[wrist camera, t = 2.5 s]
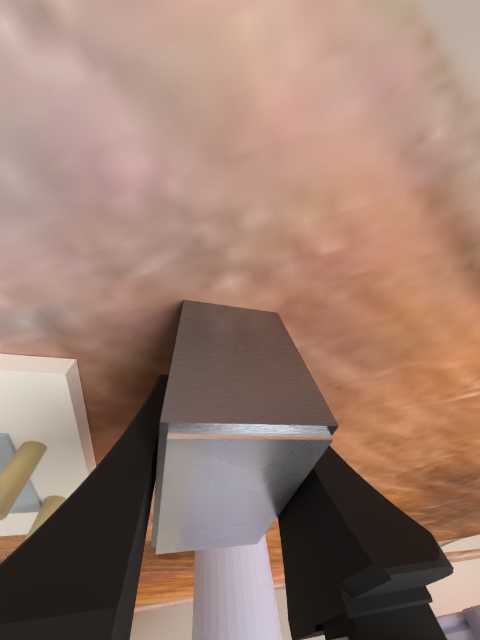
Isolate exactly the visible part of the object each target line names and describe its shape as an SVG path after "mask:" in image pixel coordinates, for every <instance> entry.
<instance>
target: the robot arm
mask: <svg viewBox="0 0 480 640" xmlns="http://www.w3.org/2000/svg"><path fill="white" fill-rule="evenodd" d="M168 378H169V375H160V376H158V379H157V381H156V383H155V385H154V387H153V389H152V391H151V393H150V394H149V396H148V398H147V400H146V401H145V403H144V404H143V406H142V407H141V409H140V410H139V412H138V414H137V415H136V417H135V418H134V419H133V421H132V422H131V424H130V425H129V426H128V428H127V429H126V430H125V432H124V433H123V435H122V436H121V437H120V439H119V440H118V441H117V442H116V444H115V445H114V446H113V447H112V449H111V450H110V451H109V452H108V454H107V455H106V456H105V457H104V458H103V460H102V461H101V462H100V463H99V464H98V465H97V467H96V468H95V469H94V470H93V471H92V472H91V473H90V474H89V476H88V477H87V478H86V479H85V480H84V481H83V482H82V483H81V484H80V486H79V487H78V488H77V489H76V490H75V491H74V492H73V493H72V494H71V495H70V496H69V497H68V498H67V499H66V500H65V501H64V502H63V503H62V504H61V505H60V506H59V507H58V509H57V510H56V511H55V512H54V513H53V514H52V515H51V516H50V517H49V518H48V519H47V520H46V521H45V522H44V523H43V524H42V525H41V526H40V527H39V528H38V529H37V530H36V531H35V532H34V533H33V534H32V535H31V536H30V537H29V538H27V539H26V540H25V541H24V542H23V543H22V544H21V545H20V546H19V547H18V548H17V549H16V550H15V551H14V552H13V553H12V554H11V555H9V556H8V557H7V558H6V559H5V560H4V561H3V562H2V563H1V564H0V640H129V639H130V632H131V626H132V620H133V613H134V607H135V601H136V595H137V588H138V582H139V576H140V569H141V563H142V557H143V551H144V544H145V538H146V532H147V526H148V520H149V514H150V508H151V502H152V496H153V490H154V485H155V481H156V471H157V456H158V442H159V427H160V419H161V414H162V409H163V404H164V398H165V393H166V388H167V383H168ZM278 522H279V529H280V537H281V546H282V555H283V564H284V574H285V585H286V595H287V608H288V621H289V626H290V631H291V637H292V640H302V639H307V638H311V637H316V636H321V635H325V639H326V640H480V605H478V606H474V607H470V608H467V609H464V610H463V611H462V612H457V613H453V614H448V615H443V616H439V617H435V615H434V613H433V611H432V609H431V607H430V605H429V604H428V603H430V602H432V598H431V595H430V593H429V592H428V590H427V588H426V585H428V584H431V583H433V582H436V581H438V580H440V579H443V578H445V577H447V576H449V575H451V574H452V573H453V567H452V565H451V564H450V562H449V560H448V559H447V557H446V556H445V554H444V553H443V551H442V549H441V548H440V546H439V545H438V543H437V542H436V540H435V538H434V537H433V535H432V534H431V533H430V532H429V531H428V530H426V529H425V528H424V527H422V526H421V525H420V524H418V523H417V522H416V521H414V520H413V519H412V518H410V517H409V516H408V515H406V514H405V513H404V512H402V511H401V510H400V509H399V508H397V507H396V506H395V505H394V504H392V503H391V502H390V501H389V500H387V499H386V498H385V497H384V496H383V495H381V494H380V493H379V492H378V491H377V490H375V489H374V488H373V487H372V486H371V485H370V484H369V483H367V482H366V481H365V480H364V479H363V478H362V477H361V476H360V475H359V474H358V473H356V472H355V471H354V470H353V469H352V468H351V467H350V466H349V465H348V464H347V463H346V462H345V461H344V460H343V459H342V458H341V457H340V456H339V455H338V454H337V453H336V452H335V451H334V450H333V449H332V448H331V447H330V446H328V448H327V449H326V450H325V452H324V453H323V455H322V456H321V457H320V459H319V460H318V461H317V463H316V464H315V466H314V467H313V468H312V470H311V471H310V472H309V474H308V475H307V477H306V478H305V479H304V481H303V482H302V483H301V485H300V486H299V488H298V489H297V490H296V492H295V493H294V494H293V496H292V497H291V499H290V500H289V501H288V503H287V504H286V505H285V507H284V508H283V510H282V511H281V512H280V514H279V515H278ZM192 627H193V628H192V640H282V635H281V629H280V623H279V617H278V612H277V605H276V599H275V593H274V586H273V580H272V574H271V568H270V562H269V556H268V550H267V544H266V538H265V534H264V536H263V537H262V538H261V540H260V541H259V543H258V544H254V545H244V546H234V547H224V548H215V549H205V550H195V565H194V596H193V626H192Z"/></svg>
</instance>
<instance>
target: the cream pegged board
mask: <svg viewBox="0 0 480 640" xmlns="http://www.w3.org/2000/svg"><path fill="white" fill-rule="evenodd" d="M95 468H96V462H95V457H94V451H93V446H92V441H91V435H90V430H89V425H88V419H87V414H86V408H85V403H84V398H83V392H82V387H81V382H80V376H79V371H78V366H77V360H76V359H65V358H52V357H38V356H25V355H12V354H0V536H11V535H24V534H27V536H26V538H25V540H26V539H27V538H29V537H30V536H31V535H32V534H33V533H34V532H35V531H36V530H37V529H38V528H39V527H40V526H41V525H42V524H43V523H44V522H45V521H46V520H47V519H48V518H49V517H50V516H51V515H52V514H53V513H54V512H55V511H56V510H57V509H58V507H59V506H60V505H61V504H62V503H63V502H64V501H65V500H66V499H67V498H68V497H69V496H70V495H71V494H72V493H73V492H74V491H75V490H76V489H77V488H78V487H79V486H80V484H81V483H82V482H83V481H84V480H85V479H86V478H87V477H88V476H89V474H90V473H91V472H92V471H93V470H94V469H95ZM25 540H24V541H25Z"/></svg>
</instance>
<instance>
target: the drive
mask: <svg viewBox="0 0 480 640" xmlns="http://www.w3.org/2000/svg"><path fill="white" fill-rule="evenodd" d="M337 428H338V424H337V422H336V420H335V418H334V417H333V415H332V413H331V411H330V409H329V407H328V405H327V404H326V402H325V400H324V398H323V396H322V394H321V392H320V391H319V389H318V387H317V385H316V383H315V381H314V379H313V378H312V376H311V374H310V372H309V370H308V368H307V367H306V365H305V363H304V361H303V359H302V357H301V355H300V354H299V352H298V350H297V348H296V346H295V344H294V342H293V341H292V339H291V337H290V335H289V333H288V331H287V329H286V328H285V326H284V324H283V322H282V320H281V318H280V316H279V315H278V313H273V312H266V311H259V310H251V309H244V308H237V307H230V306H223V305H216V304H208V303H201V302H194V301H187V300H184V302H183V307H182V312H181V317H180V322H179V327H178V332H177V337H176V343H175V348H174V353H173V358H172V363H171V368H170V373H169V378H168V383H167V388H166V393H165V398H164V404H163V409H162V414H161V419H160V427H159V442H158V456H157V471H156V486H155V501H154V515H153V530H152V545H151V548H155V547H156V554H166V553H175V552H185V551H195V550H205V549H215V548H224V547H234V546H244V545H254V544H258V543H259V541H260V540H261V538H262V537H263V536H264V534H265V533H266V532H267V530H268V529H269V527H270V526H271V525H272V523H273V522H274V521H275V519H276V518H277V516H278V515H279V514H280V512H281V511H282V510H283V508H284V507H285V505H286V504H287V503H288V501H289V500H290V499H291V497H292V496H293V494H294V493H295V492H296V490H297V489H298V488H299V486H300V485H301V483H302V482H303V481H304V479H305V478H306V477H307V475H308V474H309V472H310V471H311V470H312V468H313V467H314V466H315V464H316V463H317V461H318V460H319V459H320V457H321V456H322V455H323V453H324V452H325V450H326V449H327V448H328V446H329V445H330V444H331V442H332V441H333V438H332V435H333V433H334V432H335V431H336V429H337Z"/></svg>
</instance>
